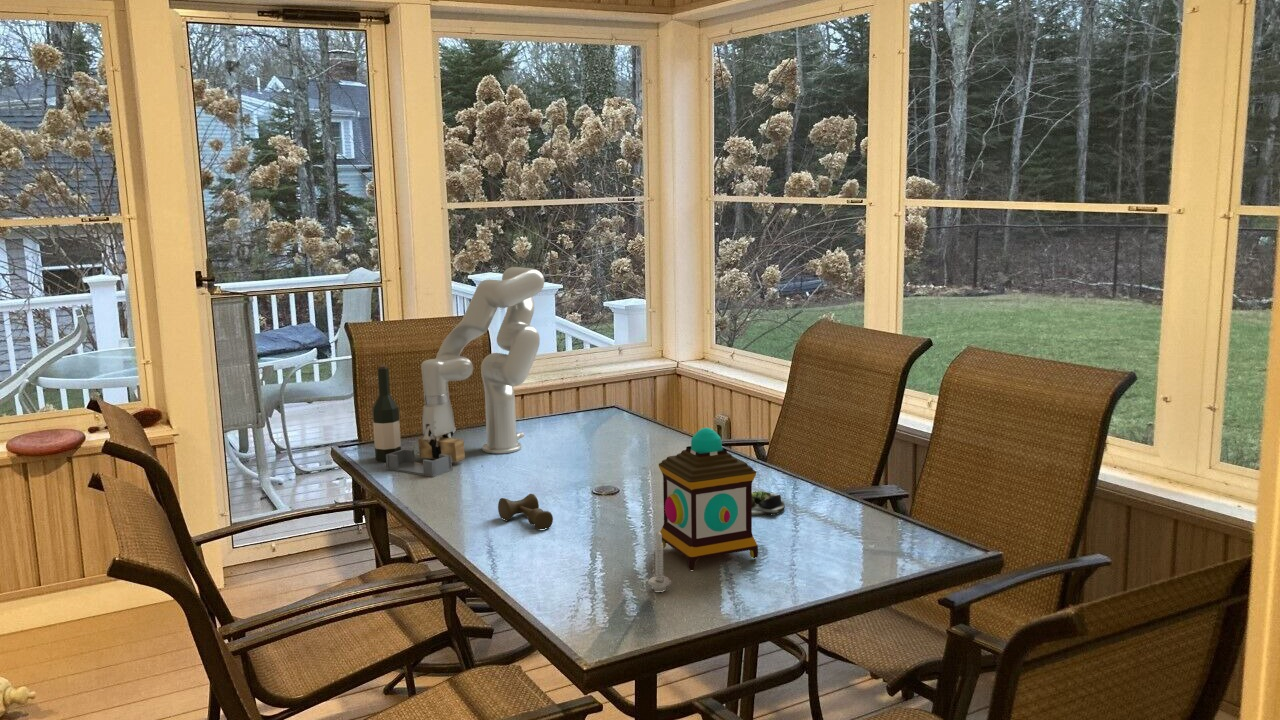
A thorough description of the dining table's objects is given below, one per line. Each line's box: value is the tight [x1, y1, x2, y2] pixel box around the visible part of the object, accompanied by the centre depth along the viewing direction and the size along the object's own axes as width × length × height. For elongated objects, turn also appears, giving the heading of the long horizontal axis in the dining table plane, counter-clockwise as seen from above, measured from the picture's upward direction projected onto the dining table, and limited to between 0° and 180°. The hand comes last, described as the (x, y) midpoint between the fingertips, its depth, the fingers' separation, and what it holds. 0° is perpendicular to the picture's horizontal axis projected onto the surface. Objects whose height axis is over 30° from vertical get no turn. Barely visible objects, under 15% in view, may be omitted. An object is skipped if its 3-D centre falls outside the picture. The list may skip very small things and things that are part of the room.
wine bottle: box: [371, 364, 402, 463], centre depth 326 cm, size 8×8×30 cm
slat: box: [417, 436, 466, 463], centre depth 323 cm, size 15×4×6 cm, turn 59°
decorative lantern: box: [658, 427, 759, 571], centre depth 237 cm, size 20×20×30 cm
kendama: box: [497, 493, 554, 530], centre depth 265 cm, size 6×10×20 cm
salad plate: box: [752, 490, 786, 516], centre depth 272 cm, size 19×18×5 cm
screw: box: [647, 531, 672, 592], centre depth 217 cm, size 13×5×5 cm
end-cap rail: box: [385, 447, 453, 478], centre depth 315 cm, size 19×8×5 cm, turn 59°
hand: (442, 455), depth 323 cm, fingers closed on slat, 4 cm apart
